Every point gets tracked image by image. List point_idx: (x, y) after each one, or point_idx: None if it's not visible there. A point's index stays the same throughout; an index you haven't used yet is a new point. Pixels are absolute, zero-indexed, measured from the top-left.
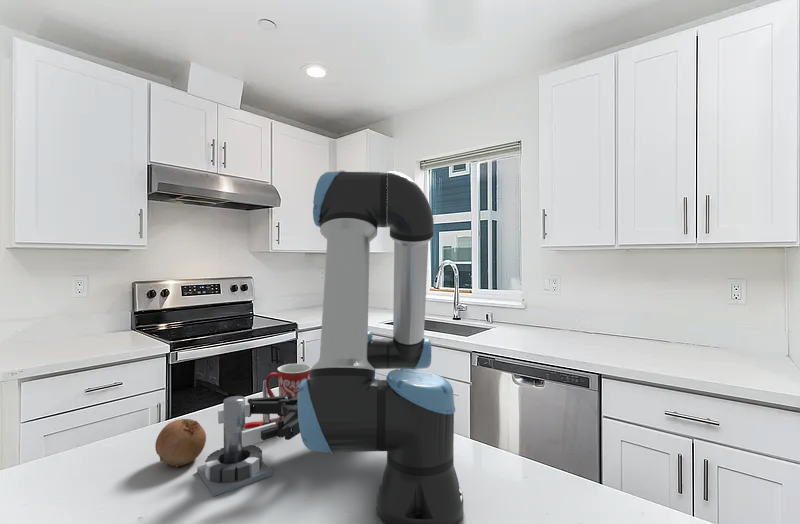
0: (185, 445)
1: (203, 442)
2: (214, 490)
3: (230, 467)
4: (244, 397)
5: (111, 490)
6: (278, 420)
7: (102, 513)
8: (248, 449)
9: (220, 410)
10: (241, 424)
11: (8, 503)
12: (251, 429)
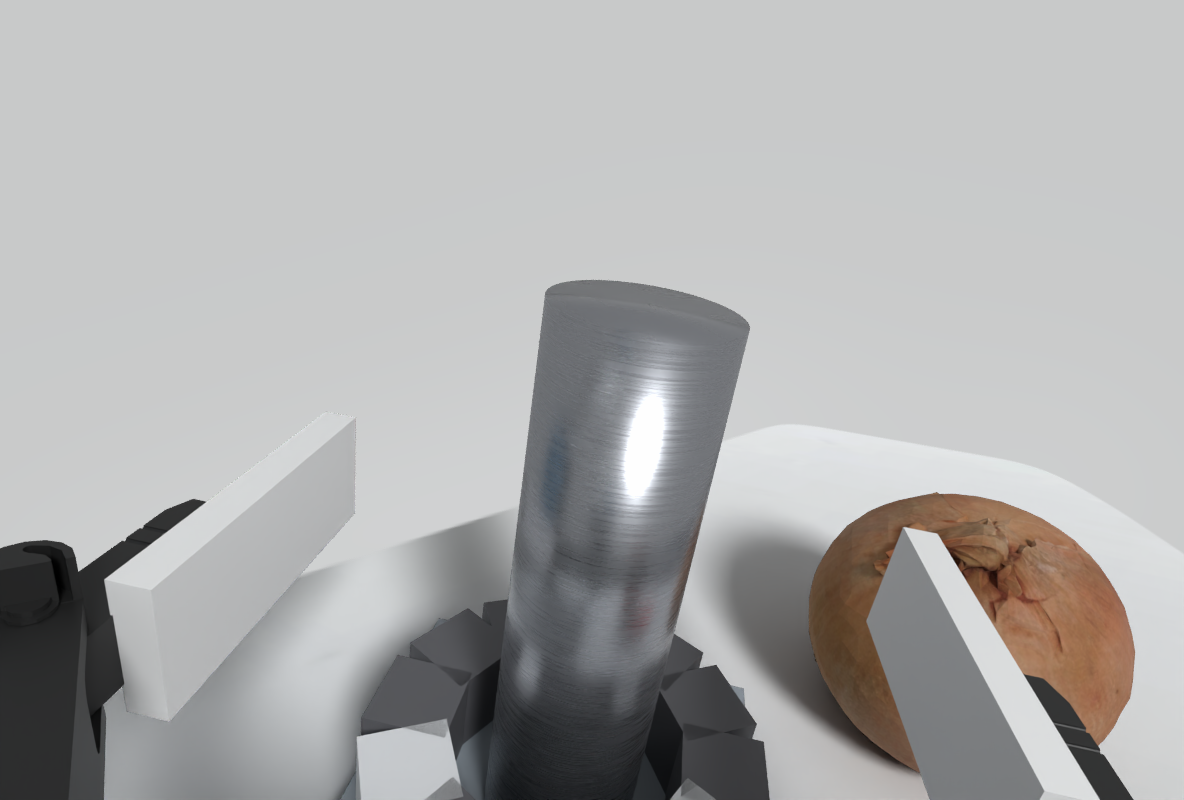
0: (824, 571)
1: (886, 688)
2: (440, 621)
3: (451, 641)
4: (631, 334)
5: (784, 519)
6: (64, 557)
7: None
8: None
9: (924, 539)
10: (521, 510)
11: (855, 434)
12: (302, 444)
